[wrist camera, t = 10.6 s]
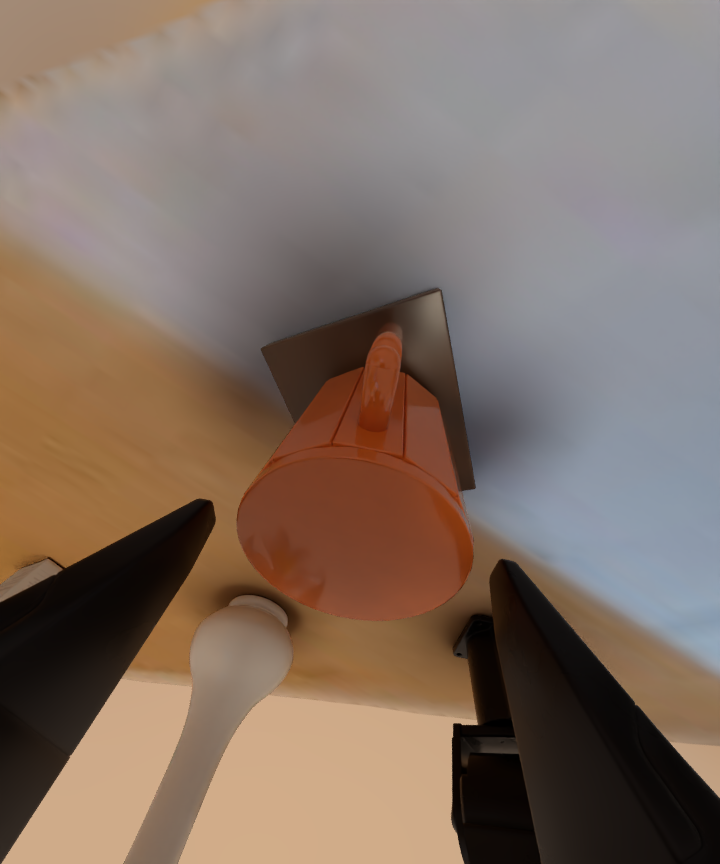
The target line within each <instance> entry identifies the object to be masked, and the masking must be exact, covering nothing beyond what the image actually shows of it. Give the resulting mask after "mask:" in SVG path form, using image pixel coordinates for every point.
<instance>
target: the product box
mask: <svg viewBox="0 0 720 864" xmlns="http://www.w3.org/2000/svg"><path fill="white" fill-rule="evenodd" d="M62 570H63V569H62V568H61V567H59V566H58V565H57V564H55V563H54V562H53V561H51V560H50V559H45V560H43V561H41V562H39V563H36V564H33V565H30V566H27V567H23V568H21V569H20V570H18V571H17V572H16V573H14V574H13V575H12V576H11V577H9V578H8V579H7V580H6V581H4V582H3V583H2V584H0V602H1V601H3V600H5V599H7V598H9V597H11V596H13V595H15V594H17V593H19V592H21V591H23V590H25V589H27V588H29V587H31V586H33V585H35V584H37V583H39V582H40V581H42V580H44V579H46V578H48V577H50V576H52V575H56V574H57V573H58V572H60V571H62Z"/></svg>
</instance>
